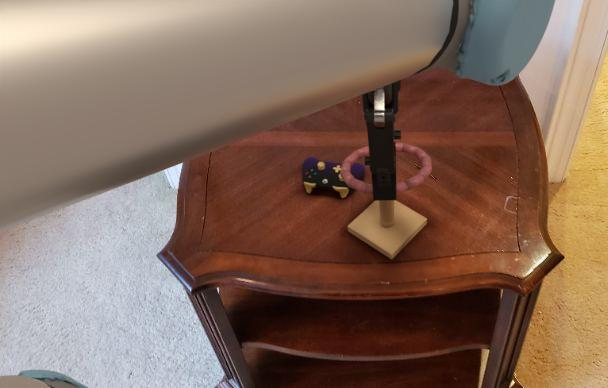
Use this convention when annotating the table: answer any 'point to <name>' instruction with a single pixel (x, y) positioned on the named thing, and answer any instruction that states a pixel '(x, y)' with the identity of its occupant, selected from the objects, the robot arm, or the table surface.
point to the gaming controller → (328, 175)
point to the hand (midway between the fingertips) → (385, 190)
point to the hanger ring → (400, 186)
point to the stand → (387, 226)
